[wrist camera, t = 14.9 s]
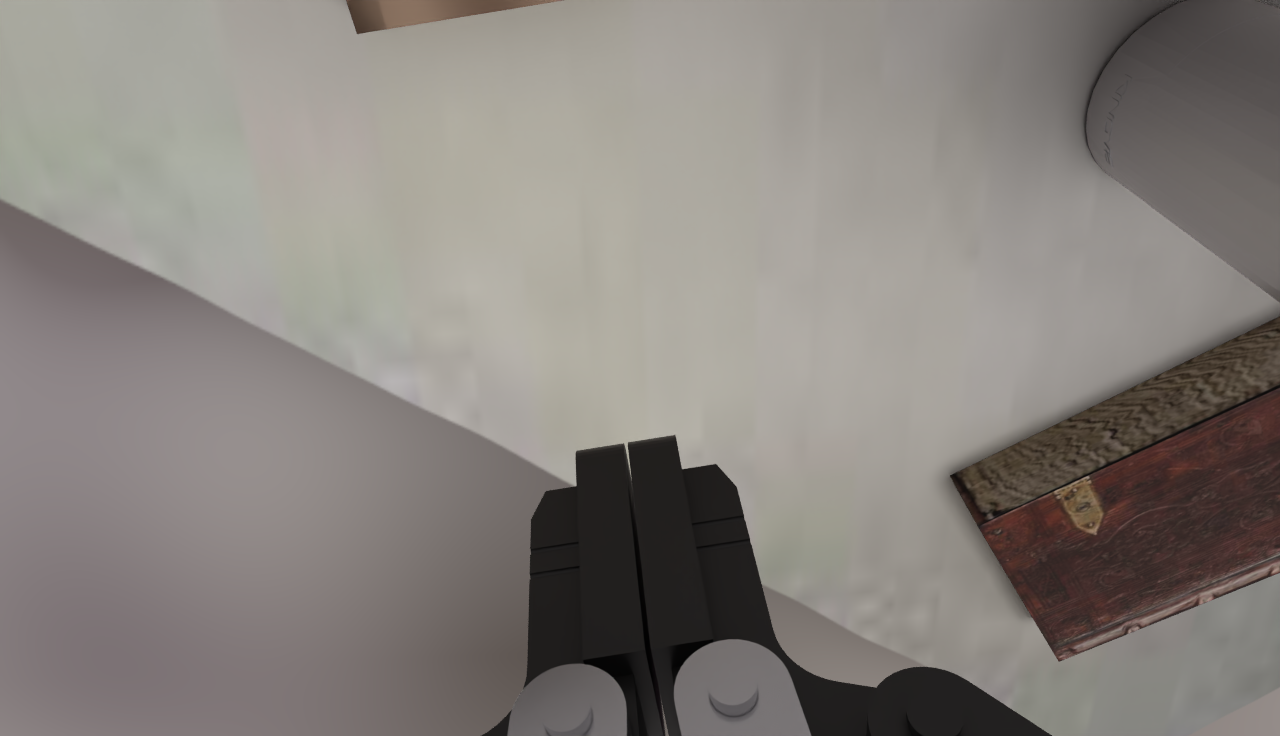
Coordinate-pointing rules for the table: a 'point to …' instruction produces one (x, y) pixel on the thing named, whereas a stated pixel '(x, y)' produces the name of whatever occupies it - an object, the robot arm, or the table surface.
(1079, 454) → the latched wooden chest
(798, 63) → the table surface
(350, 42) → the table surface
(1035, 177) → the table surface
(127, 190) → the table surface
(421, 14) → the trap box
